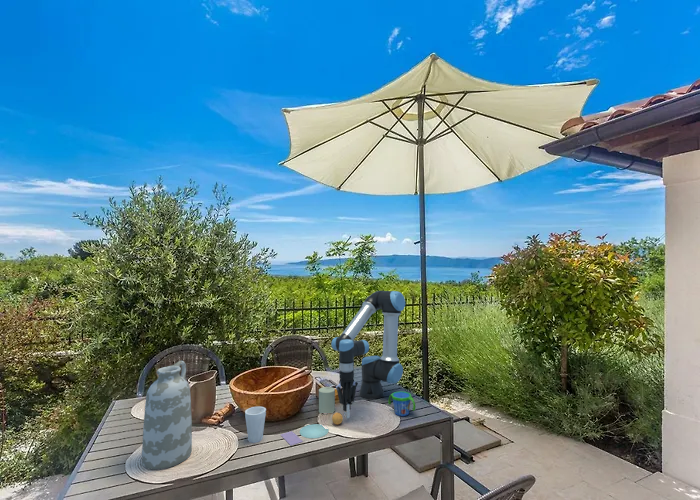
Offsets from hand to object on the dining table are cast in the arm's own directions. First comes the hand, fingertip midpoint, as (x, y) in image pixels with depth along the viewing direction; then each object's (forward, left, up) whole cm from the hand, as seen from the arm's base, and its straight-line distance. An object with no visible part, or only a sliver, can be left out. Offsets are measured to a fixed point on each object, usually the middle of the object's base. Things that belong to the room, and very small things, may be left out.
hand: (346, 416), depth 176 cm
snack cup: (-29, +10, -2) cm, 31 cm away
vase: (+80, -16, -2) cm, 82 cm away
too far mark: (+31, 0, -2) cm, 31 cm away
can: (+2, -17, -2) cm, 17 cm away
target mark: (+19, 0, -2) cm, 19 cm away
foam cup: (+45, -9, -2) cm, 46 cm away
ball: (+6, 0, +1) cm, 6 cm away
